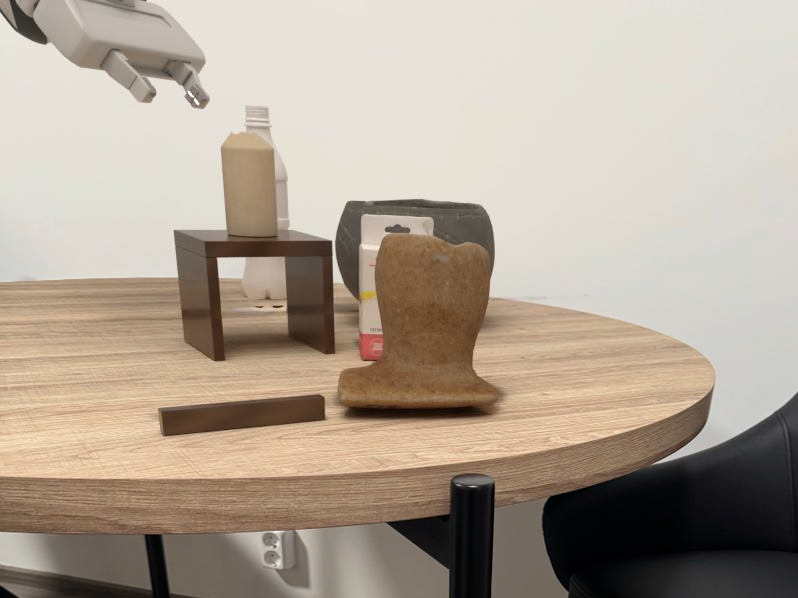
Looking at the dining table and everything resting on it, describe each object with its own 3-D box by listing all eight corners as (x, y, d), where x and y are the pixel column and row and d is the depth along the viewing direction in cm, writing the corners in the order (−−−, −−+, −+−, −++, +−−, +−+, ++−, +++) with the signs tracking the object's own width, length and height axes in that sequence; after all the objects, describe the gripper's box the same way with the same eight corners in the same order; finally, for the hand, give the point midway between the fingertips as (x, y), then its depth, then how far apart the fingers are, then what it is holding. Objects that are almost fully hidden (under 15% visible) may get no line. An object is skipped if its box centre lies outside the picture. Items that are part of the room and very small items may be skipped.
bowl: (435, 345, 115) (438, 211, 108) (304, 323, 124) (299, 198, 117) (520, 324, 131) (528, 206, 124) (398, 306, 140) (399, 195, 133)
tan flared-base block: (481, 389, 96) (488, 229, 89) (507, 420, 85) (517, 241, 78) (330, 389, 93) (326, 223, 86) (339, 421, 82) (334, 236, 75)
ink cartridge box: (361, 361, 105) (359, 217, 98) (358, 352, 109) (357, 213, 102) (437, 362, 106) (441, 220, 100) (432, 353, 111) (435, 216, 104)
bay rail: (164, 435, 76) (161, 411, 75) (160, 432, 77) (157, 407, 76) (325, 419, 83) (324, 396, 82) (320, 416, 84) (319, 393, 83)
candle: (275, 238, 102) (269, 133, 97) (223, 236, 101) (215, 130, 96) (280, 233, 106) (275, 133, 102) (231, 231, 106) (223, 130, 101)
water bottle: (242, 309, 132) (228, 103, 120) (242, 301, 138) (229, 105, 126) (294, 310, 133) (285, 107, 121) (292, 302, 139) (284, 108, 127)
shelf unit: (214, 361, 101) (204, 241, 96) (184, 340, 110) (173, 229, 105) (335, 353, 108) (332, 240, 102) (297, 334, 117) (292, 229, 111)
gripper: (137, 28, 109) (216, 128, 110) (1, -1, 91) (98, 119, 93) (166, -19, 105) (247, 86, 107) (31, -57, 88) (131, 68, 90)
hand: (177, 101), depth 100 cm, fingers open, 8 cm apart
